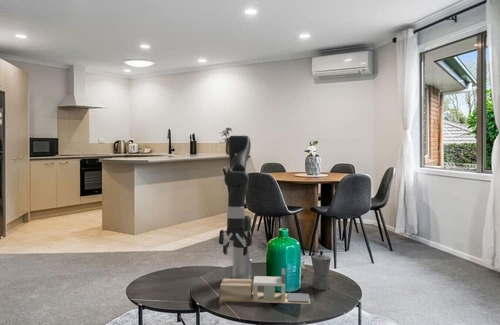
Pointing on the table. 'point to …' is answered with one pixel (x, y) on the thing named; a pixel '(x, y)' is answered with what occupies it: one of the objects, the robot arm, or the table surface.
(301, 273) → the game die
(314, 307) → the table surface
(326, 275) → the coffeepot
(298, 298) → the slate pad
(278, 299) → the puzzle board
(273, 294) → the sage block
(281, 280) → the slide cover
